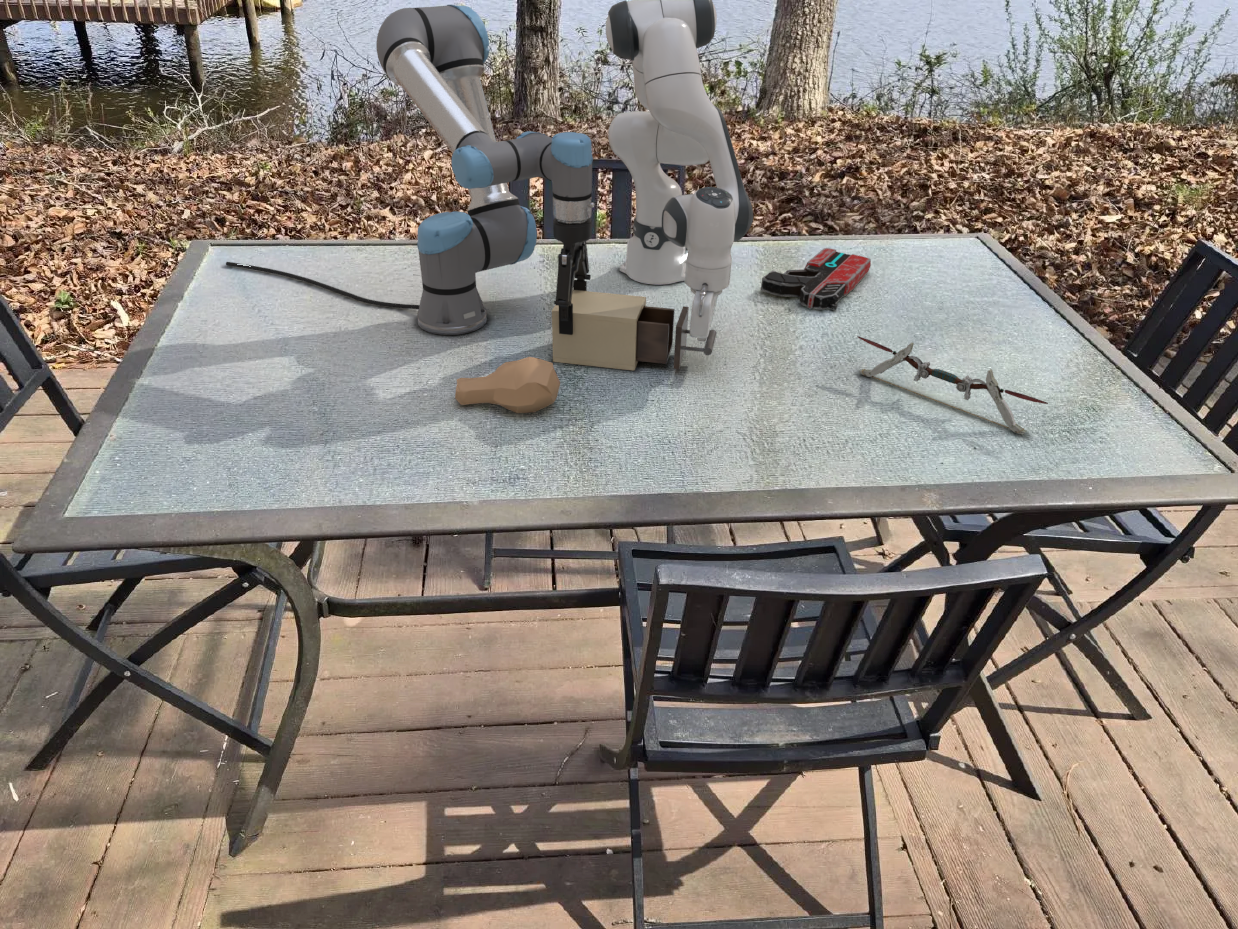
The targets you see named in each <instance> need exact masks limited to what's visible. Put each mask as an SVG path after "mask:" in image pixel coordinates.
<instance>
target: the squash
mask: <svg viewBox="0 0 1238 929" xmlns="http://www.w3.org/2000/svg"><path fill="white" fill-rule="evenodd" d="M558 376H559V375H558V374H557V372H556V370H555V367H554V362H551V361H548V360H545V359H541V358H538V357H533V356H527V357H524V358H521V359H516V360H510V361H506V362H503V363H502V364H501V365H499V366H498V367H497V368H496V369H495V370H494V371H493V372H491V373H490V374H488V375H485V376H477V377H459V378H457V379H456V387H455V393H454V399H455V400H456V401H457V402H458V404H460V406H465V405H474V404H492V405H498V406H501V407H502V408H504V409H507V410H509V411H511V412H513V413H516V414H530V413H532V414H533V413H537V412H539V411H540V410H543V409H545V408H547V407H549V406H551V405H553V404H555V402H556V400H557V398H558V395H559V391H560V386H561V380H560V379H559V378H560V377H558Z"/></svg>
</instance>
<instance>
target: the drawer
mask: <svg viewBox="0 0 1238 929" xmlns="http://www.w3.org/2000/svg"><path fill="white" fill-rule="evenodd" d="M689 309H690V308H689V306H682V308H681V311H680V314H679V317H678V319H677V322H676V326H675V312H676V311H675V310H676V309H675V308H669V307H658V306H649V305H648V306H647V305H646V306H644V307H643V309H642V311H641V314H640V316H639V318H638V321H637V336H636V361H638V362H643V363H645V362H646V363H654V364H663V365H667V363H668V361H669V358H670V355H671V352H672V349H673V345H674V352H673V356H674V357H673V370H680V369H681V365H682V362H683V358H684V355H685V352H686V351H691V352H701V353H703V355H705V356H711V355H712V353H713V350H714V346H715V343H716V338H717V331H716V330H715V329H714V328H713V329H710V331H709V335H708V337H707V338H706V341H705V344H704V347H697V346H696V347H695V346H688V345H687V340H688V338H687V337H688V335H690V329H688V324H689V323H688V322H689ZM674 327H675V333H674ZM674 334H675V336H674ZM674 337H675V338H674ZM673 343H674V344H673Z"/></svg>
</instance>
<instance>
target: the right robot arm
mask: <svg viewBox="0 0 1238 929" xmlns="http://www.w3.org/2000/svg"><path fill="white" fill-rule="evenodd" d="M717 14H718V13H717V9H716V6H715V4H714V2H713V0H629V1H627V0H622V1H619V2H617V3H615V4H613V5H611V7H610V8H609V10H608V12H607V17H606V21H605V37H606V41H607V44H608V46H609V48H610V49H611V50H612V53H613V54H614V55H615V56H616V57H617V58H619V59H622V60H627V61H628V60H629V61H632V71H633V83H634V94H635V96H636V98H637V100H638V102H639V104H640V105H642V106H643V108H645V109H646V110H648V111H643V110H635V111H626V112H620V113H618V114H616V116H615V117H613V119H612V120H611V123H610V124H609V128H608V132H607V138H608V145H609V148H610V149H611V151H612V153H613V154H614V155H615V156H616V157H617V158H619V159H620V161H621V162H622V163H623V164H624V165H625V167H626V168H627V170H628V172H629V173H630V175H631V178H632V181H633V184H634V190H635V218H634V219H633V224H632V229H633V235H632V236H631V237H630V238H629V239H628V240H627V243H626V244H627V245H626V256H625V262H624V263H623V264H621V265H620V266H619V271H620V272H622V273H624V274H626V275H627V277H628V278H629V279H631V280H633V281H635V282H638V283H641V284H645V285H646V284H647V285H657V286H659V285H661V286H662V285H671V284H675V283H678V282H684V284H685V285H686V286H687V287H689V288H690V289H689V291H690V292H691V293H692V294H693V296H694V297H693V299H692V304H691V311H690V312H691V313H690V324H689V330H690V334H689V336H690V337H691V338H695V339H696V340H697V341H698V342H703V343H704V342H705V343H706V339H707V337H708V335H709V331H710V330H711V327H712V322H713V318H714V315H715V311H716V306H717V303H718V302H717V301H718V298H719V296H720V295H721V294H722V293H723V290H726V289H727V288H728V287H729V286H730V284H731V283H730V282H731V273H732V263H733V262H732V261H733V259H732V247H733V244H734V242H739V241H741V240H742V239H743V238H744V236H745V235H746V234H747V233H748V232H749V230H750V229H751V227H752V225H753V223H754V209H753V205H752V202H751V200H750V197H749V195H748V193H747V190H746V189H745V185H744V182H743V179H742V175H741V172H740V168H739V164H738V160H737V156H736V153H735V149H734V145H733V142H732V139H731V135H730V131H729V128H728V125H727V122H726V119H725V116H724V114H723V112H722V110H721V109H720V108H719V107H717V106H716V105H714V104H713V102H712V101H711V99H710V97H709V96H708V94H707V92H706V90H705V86H704V83H703V78H702V70H701V64H700V58H699V54H698V49H700V48H703V47H705V46H707V45H709V44H710V43H711V42H712V40H713V39H714V37H715V32H716V29H717V23H718V15H717ZM708 162H709V164H710V168H711V171H712V176H713V179H714V182H715V186H716V187H715V186H705V187H701V188H699V189H697V190H696V191H695V192H694V193H689V194H683V191H682V188H681V186H680V185H679V183H678V182H677V181H676V180H674V178H672V177H670V176H669V175H667V174H666V172H664V170H663V168H662V166H661V164H663V165H664V164H665V165H676V166H684V167H687V166H688V167H690V166H698V165H699V166H700V165H706V164H707V163H708ZM686 250H687V253H686Z"/></svg>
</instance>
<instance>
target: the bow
mask: <svg viewBox="0 0 1238 929" xmlns="http://www.w3.org/2000/svg"><path fill="white" fill-rule="evenodd" d="M856 337H857V338H858V339H859V340H861V341H863V342H865V343H866V344H868V345H871V346H872V347H875V348H877V349H880V350H882V351H885V352H889V353H891V354H892V355H893V357H892V358H888V359H886V360H884V361H882V362H880V363H878V364H877V365H876V366H875V367H873V368H872V369H865V368H864V369H863V368H862V369H861V370H859V374H860V375H862V376H864V377H867V378H873V379H876V380H879V381H881V382H883V383H887V384H890V385H892V386H894V387H897V388H900V389H903V390H905V391H908V392H911V393H913V394H915V395H919V396H921V397H923V398H926V399H928V400H932V401H935V402H937V403H940V404H942V405H946V406H948V407H950V408H953V409H955V410H959V411H962V412H964V413H966V414H969V415H972V416H974V417H977V418H980V419H982V420H984V421H988V422H990V423H993V424H996V425H999V426H1002V427H1004V428H1007V429H1009V430H1010V431H1012V432H1013V433H1015V434H1018V435H1025V434H1026V433H1027V431H1028V430H1027V429H1025V427H1023V426H1021V425H1019V424H1018V423H1017V422H1016V420H1015V416H1014V415H1013V412H1012V410H1011V408H1010V406H1009V405H1008V403H1007V401H1006V400H1005V399H1004V398H1003V396H1002V393H1005V394H1007V395H1010V396H1012V397H1016V398H1018V399H1021V400H1026V401H1029V402H1031V403H1037V404H1038V403H1039V404H1044V405H1048V404H1049V402H1047V401H1044V400H1041V399H1038V398H1036V397H1033V396H1030V395H1026V394H1024V393H1021V392H1016V391H1014V390H1010V389H1009V390H1008V389H1004V388H1000V386H999V382H998V381H997V380H996V378H995V375H994V371H993V369H992V368H989V370H987V373H986V376H985V381H984V380H982V379H981V378H971V377H970V376H969V375H966V376H965V377H964V378H962V379H961V378H959V377H958V375H956V374H954V373H952V372H949V371H945V370H943V369H940V368H931V367H930V366H931V363H930V361H928V362H927V361H925V362H923V360H921V359H920V358H919V357H917V356H915V355H910V354H911V353H912V351H913V349H914V345H915V343H914V342H913V341H912V342H910V343H908V345H907V346H906V347H905V348H902V349H900V350H899V351H898V352H897V351H896V350H892V349H891V348H889V347H887V346H886V345H882V344H880V343H878V342H876V341H873V340H870V339H868V338H865V337H862V336H859V335H857V336H856ZM904 362H907V363H908V364H909V365H910V366H912V367H913V368H914V369H915V370H916V374H915V375H914V378H913V381H914V382H916V383H918V381H921V378H922V379H925V380H926V379H928V378H929V376H931V377H933V378H936V379H940V380H942V381H944V382H948V383H950V384H953V385H956V386H955V389H956V390H957V391H958V392H959V393H963V400H966V401H969V400H970V399H971V395H972V392H971V390H986V391H987V392H988V394H989V395H990V397H991V399H992V400H993V402H994V403H995V406H996V409H997V410H998V412H999V414H1000V415H1001V418H1002V420H1003V422H1004V423H1005V425H1004V424H1001V423H999V422H996V421H993V420H991V419H988V418H986V417H983V416H980V415H977V414H975V413H971V412H969V411H966V410H965V409H961V408H958V407H956V406H953V405H950V404H948V403H945V402H943V401H939V400H937V399H934V398H932V397H929V396H926V395H923V394H921V393H918V392H916V391H913V390H910V389H908V388H905V387H902V386H899V385H897V384H895V383H892V382H889V381H886V380H885V379H884V380H883V379H881V378H879V377H876V376H877V375H881V374H883V373H884V372H886V371H887V370H889V369H891V368H893V367H894V366H897V365H899V364H901V363H904Z"/></svg>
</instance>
